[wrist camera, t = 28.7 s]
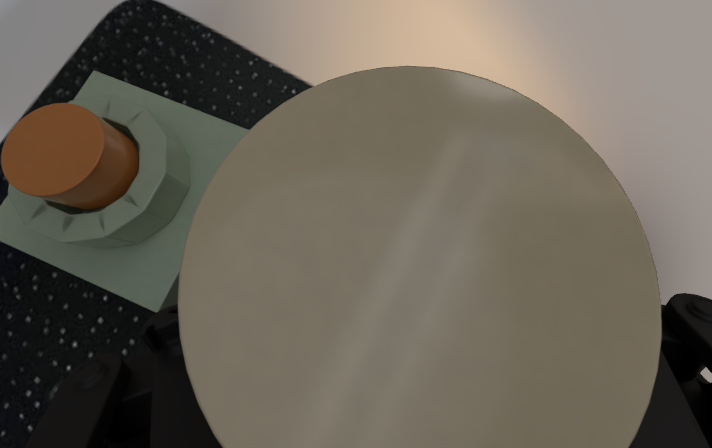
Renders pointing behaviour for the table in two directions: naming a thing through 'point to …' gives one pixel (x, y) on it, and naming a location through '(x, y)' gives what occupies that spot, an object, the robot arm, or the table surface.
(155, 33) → the table surface
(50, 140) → the button
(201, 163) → the green base
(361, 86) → the beige cylinder
